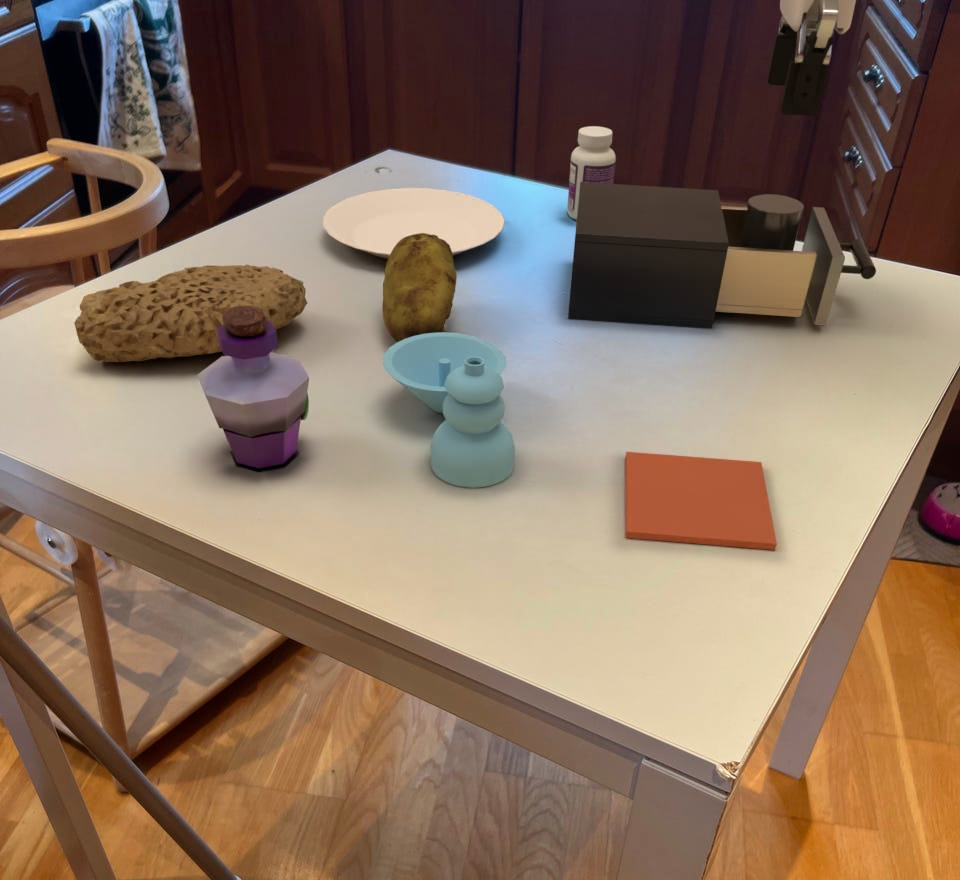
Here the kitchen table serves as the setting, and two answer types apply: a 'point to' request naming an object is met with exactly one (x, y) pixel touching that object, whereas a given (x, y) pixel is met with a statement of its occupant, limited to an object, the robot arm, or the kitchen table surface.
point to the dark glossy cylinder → (771, 222)
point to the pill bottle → (590, 163)
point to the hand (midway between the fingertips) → (790, 98)
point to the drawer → (787, 271)
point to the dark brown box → (647, 255)
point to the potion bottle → (256, 391)
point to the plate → (412, 219)
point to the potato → (418, 286)
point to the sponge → (181, 311)
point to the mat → (697, 501)
